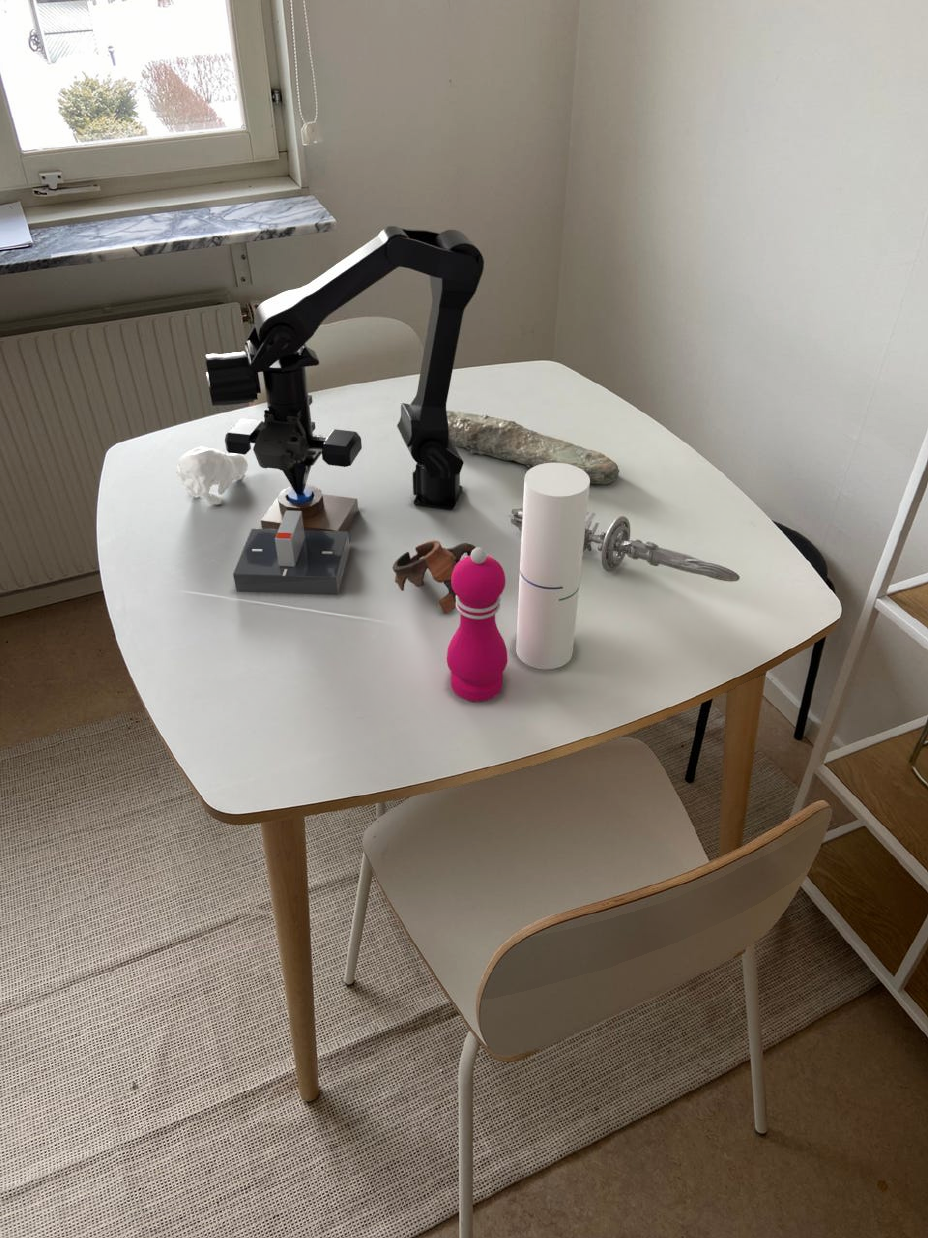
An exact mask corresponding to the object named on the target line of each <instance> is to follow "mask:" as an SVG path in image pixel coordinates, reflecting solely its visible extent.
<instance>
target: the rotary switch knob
mask: <svg viewBox="0 0 928 1238" xmlns="http://www.w3.org/2000/svg"><path fill="white" fill-rule="evenodd" d="M304 539H305V534H304V526H303V519H302V511H287V510H286V512H285V514H284V517H283V520H282V522H281V525H280V527H279V530H278V532H277V535H276V538H275V543H276V549H277V556H278V562H279V566H289V567H295V565H296V562H297V559H298V556H299V553H300V550H301V548H302V545H303V542H304Z"/></svg>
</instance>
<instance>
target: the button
mask: <svg viewBox="0 0 928 1238" xmlns="http://www.w3.org/2000/svg"><path fill="white" fill-rule="evenodd" d="M312 499H313V496H312V491H311V490H310V489H309V488H306V487H305V489H304V492H303V493H302V495H299V494H296V493H295V491H294V489H291V490H290V491H289V492H288V501H289V502H291V503H296V504H301V503H307V502H309V501H311V500H312Z"/></svg>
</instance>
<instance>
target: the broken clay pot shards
mask: <svg viewBox="0 0 928 1238" xmlns="http://www.w3.org/2000/svg"><path fill="white" fill-rule="evenodd" d="M475 548H477V547H476V546H475V545H474V544H472V543H468V542H462V543H459V544H456V545H455V546H453V547H450V548H449V547H448V548H445V547H443V546H442V543H441V542H440V540H430V541H427V542H424V543H421V544H419V545H417V546H415V547H414V549H415V552H416V554H414V555H413V556H412V557H411V555H410V552H408V551H406V552H405V553H403V554H402V555H401V556H399V557H398V558H397V559H396V560H395V562H393V564H392V570H393V572H394V573H395V576H394V582H395V584H397V585H398V588H399V589H400V591H402V592H403V591H405V584H406V581H408V582H409V583H412V584H413V585H414V586H415V587H420V588H421V587H424V586H425V581H424V579H425V576H426V575H425V574H426V572H427V570H428V571H429V573H430V574H431V577H432V579H433V580H434V581H435V582H436V583H439V584H441V583H442V584H444V586H445V587H446V588H447V590H448V593H447V594H445V595H444V596H443V597H441V598H439V599H438V600H437V604H438V605H439V607H440V609H441V611H442V613H443V614H445V615H446V614H448V613H450V612H451V611H453V610H455V609H457V608H456V594H455V593H454V591H453V588H452V584H451V577H452V572H453V570H454V568H455V566H456V564H457V563H458V562H459V561H460V560H462V557H463V556H464V554H467V556H470V555H471V552H472V550H474V549H475Z"/></svg>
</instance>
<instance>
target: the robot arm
mask: <svg viewBox="0 0 928 1238" xmlns="http://www.w3.org/2000/svg"><path fill="white" fill-rule="evenodd" d="M400 267H401V268H405V269H410V270H413V271H416V272H418V273H422V274H424V275H426V276H429V281H430V289H431V307H430V311H429V320H428V324H427V330H426V335H425V342H424V348H423V355H422V361H421V367H420V371H419V372H420V373H419V378H418V383H417V389H416V390H417V391H416V395H415V397H414V398H413V400H412V401H411V402H410V404H409V403H404V402H401V403H400V418H399V421H398V423H397V424H396V427H397V429H398V431H399V433H400V436H401V438H402V440H403V443H404V444H405V447H406V448H407V451H408V452H409V454H410V457H411V458H412V459H413V460H414V462H416V463H415V467H414V469H413V471H412V494H413V496H415V497H414V499H413V506H417V507H426V508H434V509H442V510H449V511H451V510H452V511H453V510H455V508H456V507H457V503H458V501H459V499H460V497H461V494H462V492H463V490H464V489H463V486H462V485H461V472H462V469H463V466H464V463H465V462H464V460H463V458H462V457H461V455H460V453H459V451H458V450H457V448H456V447H455V446H456V445H453V443H452V441H451V440H450V438H449V427H448V419H447V411H448V410H447V402H448V397H449V392H450V387H451V381H452V376H453V370H454V364H455V359H456V356H457V355H456V354H457V349H458V345H459V339H460V333H461V329H462V328H461V327H462V323H463V317H464V312H465V309H466V308H467V306H468V305H469V304H470V302H471V300H472V299H473V297H474V296H475V295H476V293H477V290H478V287H479V284H480V282H481V278H482V277H483V273H484V270H485V259H484V256H483V255H482V253H481V251H480V250H479V248H478V247H477V246H476V245H475V244H474V243H473V242H472V241H471V239H469V238H468V237H467V235H465V234H464V233H463V232H462V231H460V230H457V229H446V230H444V231H441V232H437V231H432V230H426V229H412V228H411V229H409V228H402V227H399V226H396V225H390V226H387V227H384V228H383V229H382V230H381V231H380V232H379V234H378V235H377V236H375V237H374V238H372V239H371V240H370V241H368V242H367V243H365V244H363V246H361V247H359V248H358V249H357V250H355V251H354V252H352V253H351V254H349V255H348V256H347V257H345V258H344V259H342V260H341V261H340V262H338V263H336V264H335V265H334V266H333V267H330V269H328V270H326V272H323V274H321V275H320V276H318V277H317V278H315V279H314V280H312V281H311V282H310V283H308V284H306V285H303V286H302V287H299V288H295V289H290V290H286V291H283V292H281V293H279V294H277V295H274V296H272V297H270V298H268V299H266V300H264V301H263V302H261V303H260V304H259V305H258V306H257V308H255V309H256V310H255V313H254V317H253V323H254V325H253V327H252V329H251V331H250V332H249V334H248V336H247V338H246V340H244V343H243V349H244V351H241V352H231V353H223V354H222V353H221V354H218V353H210V354H205V355H204V360H205V365H206V371H207V372H206V373H205V374H206V379H207V385H208V389H209V395H210V402H211V405H212V406H211V407H212V408H218V407H219V408H220V407H225V406H234V405H241V404H249V403H255V401H256V400H259V397H258V395H259V394H260V395H261V394H262V389H261V382H260V377H259V373H262V377H263V385H264V391H265V397H266V404H267V406H266V407H265V408H264V410H263V412H264V414H263V418H264V421H263V420H257V419H249V418H239V420H238V421H237V422H236V423H235V424H234V425H233V426H232V427H231V428H230V430H228V432H226V434H225V437H224V444H225V449H226V452H227V454H233V453H235V454H241V455H243V456H244V455H247V454H248V453H249V452H250V451H251V449H252V451H253V453H254V455H255V458H256V461H257V463H258V466H259V467H260V468H262V469H273V470H274V469H275V470H280V471H282V472H283V474H284V475H285V477H286V479H287V481H288V482H289V484H290V486H292V488H293V489H294V491H295V493H296V494H299V495H302V493H303V492H304V489H305V486H306V485H307V482H308V479H309V476H310V471H311V469H312V466H314V465H315V464H316V462H317V461H318V459H319V458H320V457H321V459H322V461H323V462H324V463H326V465H328V466H335V467H342V468H343V467H344V468H346V467H347V468H348V467H350V466H352V464H353V463H354V461H355V459H356V458H357V456H358V455H359V453H360V452H361V450H362V449H363V447H362V446H363V445H362V437H361V436H360V434H359V433H358V432H357V431H353V430H344V429H336V428H334V429H332V431H331V432H330V433H329V435H328V436H327V437H323V435H322V434H319V433H314V431H315V430H316V422H315V421H312V416H311V415H312V414H311V407H310V406H311V405H312V404H313V402H314V401H313V395H311V394H309V390H308V381H307V373H306V368H308V367H316V366H319V365H320V361H319V358H318V355H317V353H316V351H315V350H313V349H312V348H310V347H309V346H308V345H307V344H306V343H308V341H309V340H311V338H312V337H314V335H315V333H316V332H317V331H318V329H319V327H320V326H321V325H322V323H323V322H324V321H325V320H326V319H327V318H328V317H329V316H330V315H331V314H333V313H334V312H336V311H337V310H339V309H340V308H342V307H343V306H345V305H346V304H348V303H349V302H351V301H352V300H353V299H355V298H356V297H357V296H359V295H360V294H362V293H363V292H365V291H366V290H367V289H369V288H370V287H372V286H373V285H375V284H376V283H378V282H379V281H381V280H382V279H384V278H385V277H386V276H387V275H389V274H390V273H392V272H394V271H395V270H397V268H400ZM251 444H254V445H253V447H252V446H251Z"/></svg>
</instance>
